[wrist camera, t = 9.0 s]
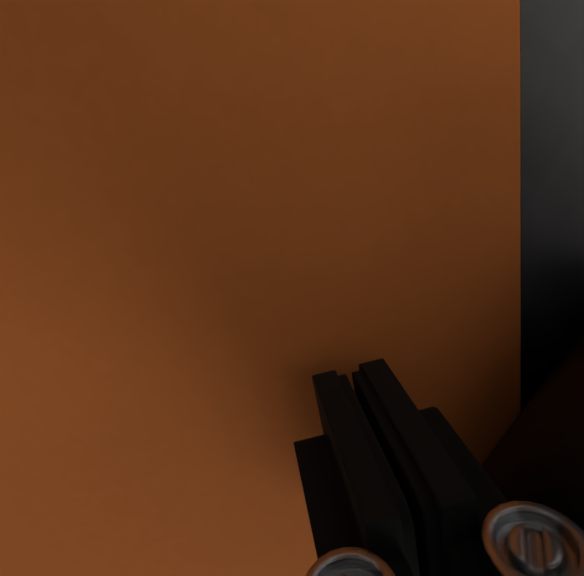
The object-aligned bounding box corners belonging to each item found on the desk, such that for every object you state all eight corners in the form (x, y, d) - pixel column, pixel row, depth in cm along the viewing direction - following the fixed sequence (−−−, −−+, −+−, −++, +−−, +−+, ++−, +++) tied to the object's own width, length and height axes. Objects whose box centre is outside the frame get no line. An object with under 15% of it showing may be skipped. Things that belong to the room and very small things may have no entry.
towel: (-1026, -33, 6) (-1086, -41, 6) (508, -286, 7) (521, -304, 7) (-165, 743, 13) (-174, 756, 13) (515, 551, 14) (521, 559, 14)
